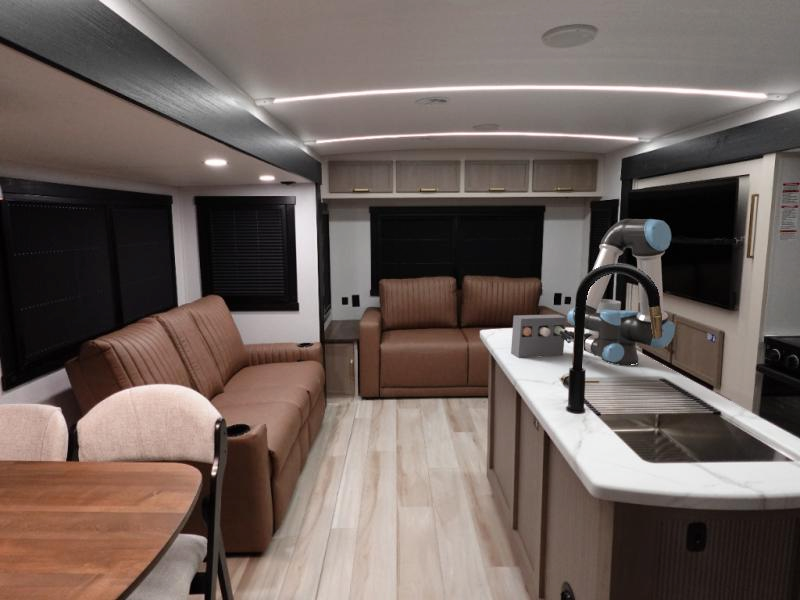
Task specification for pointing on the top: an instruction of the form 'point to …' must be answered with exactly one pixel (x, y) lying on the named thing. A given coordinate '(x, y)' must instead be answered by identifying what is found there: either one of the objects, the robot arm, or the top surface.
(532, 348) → the console
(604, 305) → the cylinder vase
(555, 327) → the sage button
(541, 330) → the cream button
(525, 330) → the terracotta button
